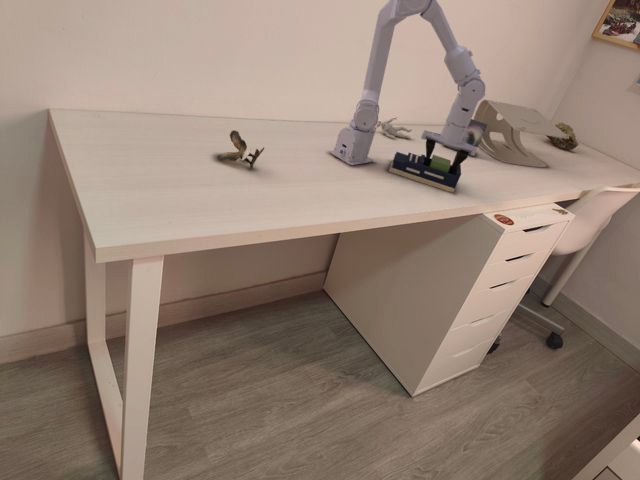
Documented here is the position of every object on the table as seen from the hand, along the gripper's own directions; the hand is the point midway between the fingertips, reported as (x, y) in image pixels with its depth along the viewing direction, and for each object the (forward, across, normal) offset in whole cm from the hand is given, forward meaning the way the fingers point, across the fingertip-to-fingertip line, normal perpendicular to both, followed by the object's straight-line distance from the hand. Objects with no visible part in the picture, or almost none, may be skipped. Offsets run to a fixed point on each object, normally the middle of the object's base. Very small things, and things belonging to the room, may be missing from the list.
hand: (437, 171), depth 122 cm
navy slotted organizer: (+3, +3, 0) cm, 4 cm away
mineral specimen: (+3, -54, -95) cm, 109 cm away
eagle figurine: (+3, +45, +30) cm, 55 cm away
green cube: (+2, 0, 0) cm, 2 cm away
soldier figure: (+3, +15, -30) cm, 34 cm away
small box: (+3, -8, -38) cm, 39 cm away
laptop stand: (+3, -27, -55) cm, 62 cm away
